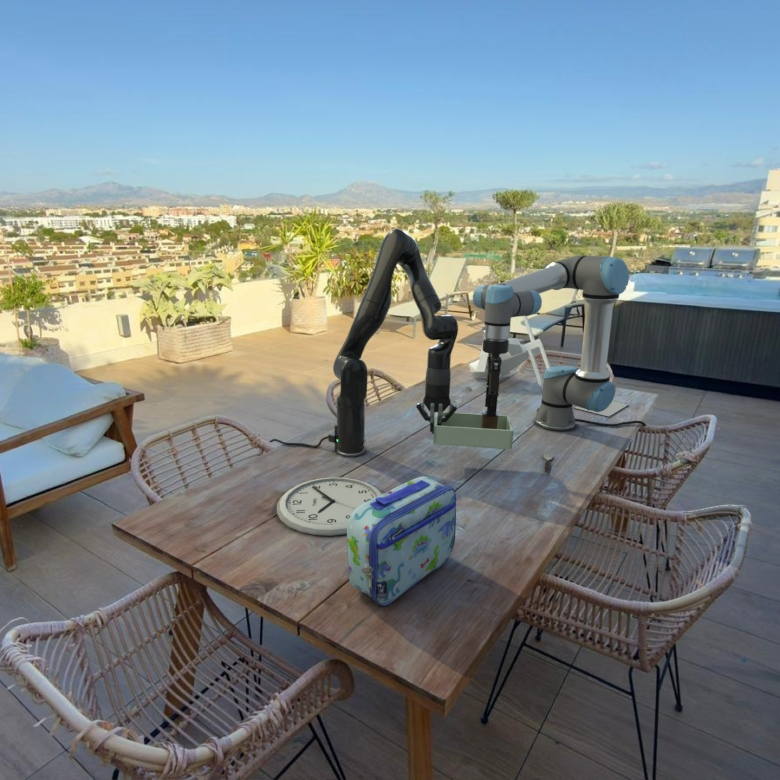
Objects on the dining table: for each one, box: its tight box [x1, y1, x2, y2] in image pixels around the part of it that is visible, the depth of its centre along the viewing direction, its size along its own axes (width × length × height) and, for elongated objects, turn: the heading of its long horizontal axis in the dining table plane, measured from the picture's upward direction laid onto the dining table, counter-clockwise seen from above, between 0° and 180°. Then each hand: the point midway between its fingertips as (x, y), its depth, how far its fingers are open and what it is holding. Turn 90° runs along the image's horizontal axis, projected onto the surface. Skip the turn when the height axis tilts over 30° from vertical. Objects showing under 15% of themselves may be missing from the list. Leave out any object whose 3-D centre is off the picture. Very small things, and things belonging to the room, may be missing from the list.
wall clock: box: [276, 476, 384, 537], centre depth 142 cm, size 30×2×30 cm
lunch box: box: [346, 475, 457, 607], centre depth 111 cm, size 26×11×21 cm, turn 134°
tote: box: [432, 411, 515, 451], centre depth 163 cm, size 24×14×6 cm, turn 83°
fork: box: [543, 448, 554, 473], centre depth 170 cm, size 3×16×2 cm, turn 160°
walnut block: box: [481, 410, 499, 429], centre depth 162 cm, size 4×4×8 cm
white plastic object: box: [468, 316, 551, 390], centre depth 257 cm, size 37×45×31 cm
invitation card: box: [573, 400, 629, 418], centre depth 226 cm, size 21×1×15 cm
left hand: (435, 433), depth 165 cm, fingers closed on tote, 1 cm apart
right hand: (490, 411), depth 161 cm, fingers open, 8 cm apart
